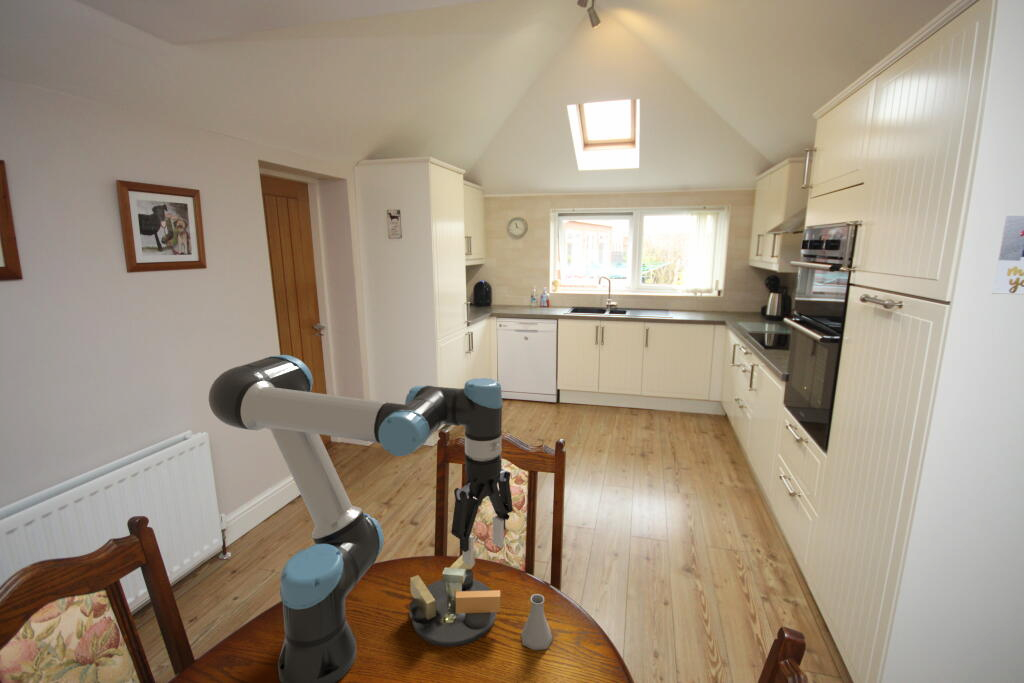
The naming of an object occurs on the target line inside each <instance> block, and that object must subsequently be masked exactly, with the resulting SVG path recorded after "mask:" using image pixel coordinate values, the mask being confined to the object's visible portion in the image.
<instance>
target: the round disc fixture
mask: <svg viewBox="0 0 1024 683" xmlns="http://www.w3.org/2000/svg"><path fill="white" fill-rule="evenodd" d="M473 550H474V565H472V566H469V565H468V564H467V563H465V562H464V561H462V554H461V555H460V556H459V557H458V558H457V559H456V561H454V562H453V563H452V564H451V565H450V567H447V566H446V567H444V569H443V571H442V574H441V576H442V577H441V579H439V580H437V581H434V582H432V583H430V584H428V585H427V586H426V584H425V583H424V581H423V580H422V578H421V577H420V576H419V575H418V574H417V575H414V576H412V577H409V579H410V584H409V585H410V594H411V595H412V596H411V597H413V599H412V600H411V601H410V602H409V618H410V620H411V623H412V627H413V630H414V632H415V633H416V635H418V636H419V637H420V638H421V639H422V640H423V641H425V642H427V643H429V644H432V645H434V646H438V647H445V648H454V647H463V646H465V645H469V644H471V643H474V642H476V641H478V640H479V639H481V638H483V637H484V636H485V635H486V634H487V633H488V632H489V631H490V630H491V628H492V626H494V623H495V621H496V618H497V612H491V622H490V624H489V625H488V626H486V627H485V628H482V629H473V628H471V627H469V626H468V625H467V624H466V622H465V613H458V614H456V592H460V591H492V590H491V588H490V587H489V586H488V585H486V584H485V583H483V582H482V581H479V580H476V579H474V572H473V569H472V568H473V567H474V566H475V565H476V550H475V549H473Z"/></svg>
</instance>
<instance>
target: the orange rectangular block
mask: <svg viewBox="0 0 1024 683" xmlns="http://www.w3.org/2000/svg"><path fill="white" fill-rule="evenodd" d="M491 612H496V613H501V590H500V589H499V590H498V589H495V590H491V591H460V592H456V614H458V613H465V622H466V624H467V625H468V626H469V627H471V628H473V629H482V628H485V627H486V626H488V625H489V624H490V622H491Z"/></svg>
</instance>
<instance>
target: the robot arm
mask: <svg viewBox="0 0 1024 683" xmlns="http://www.w3.org/2000/svg"><path fill="white" fill-rule="evenodd" d="M313 385H314V379H313V375H312V372H311V370H310V369H309V367H308V366H307V364H306V363H304V362H303V361H302V360H301V359H299V358H297V357H294V356H292V355H288V354H279V355H273V356H269V357H268V356H267V357H264V358H262V359H259V360H256V361H253V362H249V363H246V364H243V365H239V366H235V367H233V368H230V369H228V370H226V371H224V372H222V373H221V374H220V375H219V376H218V377H216V379H214V381H213V383H212V385H211V386H210V390H209V392H208V393H209V394H208V402H209V407H210V409H211V411H212V413H213V415H214V416H215V417H216V418H217V419H218V420H219V421H221V422H222V423H224V424H226V425H227V426H229V427H230V426H231V427H234V428H238V429H242V430H243V429H244V430H250V431H260V430H263V429H268V430H269V431H271V434H272V436H273V438H274V440H275V442H276V444H277V447H278V449H279V451H280V454H281V455H282V457H283V459H284V461H285V463H286V466H287V468H288V470H289V472H290V474H291V477H292V479H293V481H294V483H295V485H296V487H297V489H298V491H299V494H300V495H301V498H302V500H303V502H304V504H305V507H306V508H307V510H308V513H309V514H310V517H311V519H312V521H313V523H314V524H313V525H314V528H313V531H312V533H311V537H312V540H313V542H314V544H313V545H310V546H308V548H306V549H305V548H303V549H300V550H299V551H297V552H296V553H295V554H294V555H292V556H291V557H290V558H289V559H288V561H287V562H286V563H285V565H284V567H283V568H282V571H281V574H280V586H279V594H280V598H281V608H282V617H283V618H282V619H283V627H284V628H283V629H284V635H285V636H284V640H283V644H282V648H281V651H280V654H279V658H278V662H277V670H278V678H279V681H280V683H337V682H339V681H340V680H341V679H342V678H344V676H345V675H346V674H348V673H349V671H350V670H351V668H352V666H353V665H354V663H355V661H356V658H357V642H356V641H357V640H356V636H355V634H354V632H353V631H352V629H351V626H350V625H349V622H348V621H347V619H346V618H347V616H346V615H347V614H346V598H347V596H348V595H349V593H351V591H352V590H353V589H354V588H355V587H356V585H357V584H358V583H359V581H360V580H361V579H362V578H363V577H364V575H365V574H366V572H367V571H369V569H370V568H372V566H373V565H374V564H375V563H376V561H377V560H378V557H379V556H380V554H381V551H382V550H383V546H384V542H385V541H384V540H385V538H384V537H385V536H384V531H383V529H382V527H381V524H380V523H379V521H378V520H377V519H376V517H371V515H370V513H365V512H363V510H362V508H361V507H358V506H355V505H352V503H351V501H350V498H349V497H348V494H347V492H346V490H345V487H344V486H343V483H342V481H341V479H340V477H339V474H338V472H337V470H336V468H335V466H334V463H333V462H332V461H333V460H332V459H331V457H330V455H329V453H328V451H327V449H326V446H325V444H324V442H323V440H322V437H321V436H327V437H328V436H330V437H336V438H343V439H349V440H356V441H362V442H370V443H374V444H375V443H376V444H377V443H378V444H381V446H382V448H383V450H384V451H386V452H388V453H390V454H391V455H392V456H395V457H405V456H408V455H409V456H410V454H413V453H414V452H416V451H417V450H418V449H420V448H421V447H422V446H424V444H425V443H426V442H427V440H428V439H430V437H432V435H434V433H436V432H437V430H439V429H440V428H441V427H442V426H443V425H447V426H462V427H464V454H465V456H464V465H465V466H464V469H465V470H464V472H465V473H466V478H467V479H466V482H465V485H464V486H463V487H461V488H459V487H455V489H453V490H454V492H453V494H454V498H455V502H454V507H453V509H454V510H453V516H452V525H451V532H450V533H451V535H453V536H454V537H456V538H457V539H458V540H459V550H461V551H462V554H461V555H462V561H464V562H465V563H467V564H468V565H469V566H472V565H474V550H475V549H474V535H472V530H473V528H474V524H475V521H476V517H477V514H478V510H479V508H480V506H481V505H482V504H483V501H484V499H486V498H487V497H488V499H489V501H490V504H491V506H492V507H493V508H492V509H493V510H494V512H495V515H493V516H492V544H493V545H495V546H496V547H498V548H500V549H502V548H504V547H505V546H504V545H505V544H504V542H505V541H504V538H505V536H504V534H505V530H506V521H508V520H509V519H510V514H511V513H512V512H513V510H514V509H513V508H514V506H513V499H512V493H511V491H512V490H511V483H510V480H511V472H510V471H508V470H505V469H503V468H502V463H503V462H502V461H503V460H502V458H503V457H502V456H503V455H502V452H503V450H502V447H503V446H502V440H503V439H502V436H503V435H502V427H503V426H502V423H503V422H502V420H503V418H502V417H503V416H502V415H503V405H504V403H503V397H502V385H501V383H500V382H499V381H498V380H495V379H492V378H484V377H482V378H477V377H476V378H471V379H469V380H467V381H466V382H465V384H464V387H463V388H458V387H457V388H455V387H445V386H444V387H443V386H433V385H429V384H428V385H415V386H413V387H411V388H410V390H409V392H408V393H407V395H406V398H405V401H404V402H405V403H395V402H387V401H379V400H374V399H373V400H371V399H367V398H366V399H364V398H356V397H350V396H344V395H343V396H341V395H334V394H327V393H319V392H311V391H312V389H313V387H312V386H313ZM474 566H475V565H474Z"/></svg>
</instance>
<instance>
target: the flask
mask: <svg viewBox="0 0 1024 683" xmlns="http://www.w3.org/2000/svg"><path fill="white" fill-rule="evenodd" d="M529 600H530V604H531V606H530V610H529V615H528V617H527V619H526V622H525V624H524V626H523V628H522V630H521V633H520V636H521V637H520V638H521V643H522V646H524V647H526V648H529V649H530V650H533V651H541V650H548V648H549V647H550V645H551V644H552V642H553V641H554V639H553V635H552V632H551V629H550V626H549V624H548V620H547V618H546V615H545V610H544V603H545V602H546V601H545V596H544V595H542V594H540V593H534V594H532V595H531V597H530V598H529Z"/></svg>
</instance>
